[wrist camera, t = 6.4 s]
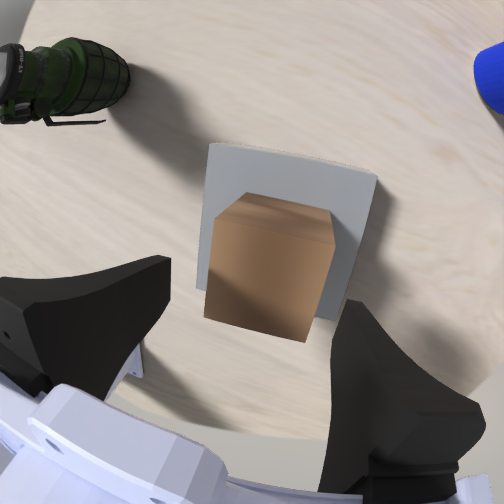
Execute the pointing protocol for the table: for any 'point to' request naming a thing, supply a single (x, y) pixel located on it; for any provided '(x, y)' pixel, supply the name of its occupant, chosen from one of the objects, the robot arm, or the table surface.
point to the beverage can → (491, 76)
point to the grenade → (59, 81)
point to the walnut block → (269, 265)
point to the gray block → (295, 190)
